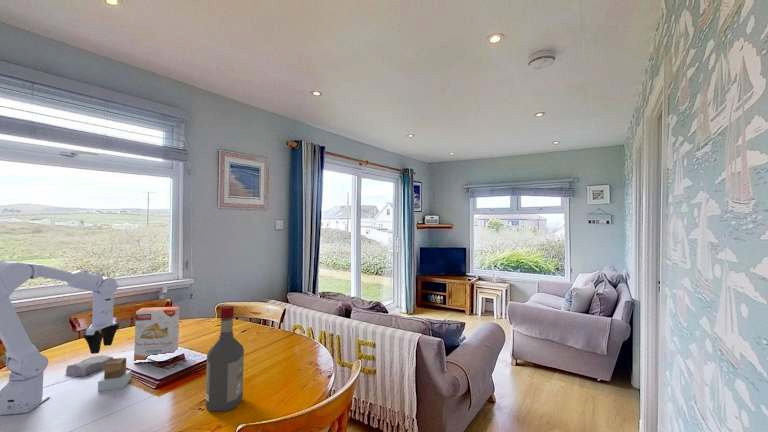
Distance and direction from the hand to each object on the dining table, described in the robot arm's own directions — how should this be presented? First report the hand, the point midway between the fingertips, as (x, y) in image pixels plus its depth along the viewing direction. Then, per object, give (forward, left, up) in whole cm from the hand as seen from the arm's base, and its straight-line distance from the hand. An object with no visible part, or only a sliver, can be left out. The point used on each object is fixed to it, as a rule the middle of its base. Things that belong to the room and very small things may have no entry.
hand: (101, 349), depth 121 cm
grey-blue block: (-6, -7, -11) cm, 14 cm away
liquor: (-27, -46, -11) cm, 54 cm away
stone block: (+10, +9, -11) cm, 17 cm away
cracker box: (+14, -12, -11) cm, 22 cm away
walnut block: (-6, -7, -7) cm, 12 cm away
